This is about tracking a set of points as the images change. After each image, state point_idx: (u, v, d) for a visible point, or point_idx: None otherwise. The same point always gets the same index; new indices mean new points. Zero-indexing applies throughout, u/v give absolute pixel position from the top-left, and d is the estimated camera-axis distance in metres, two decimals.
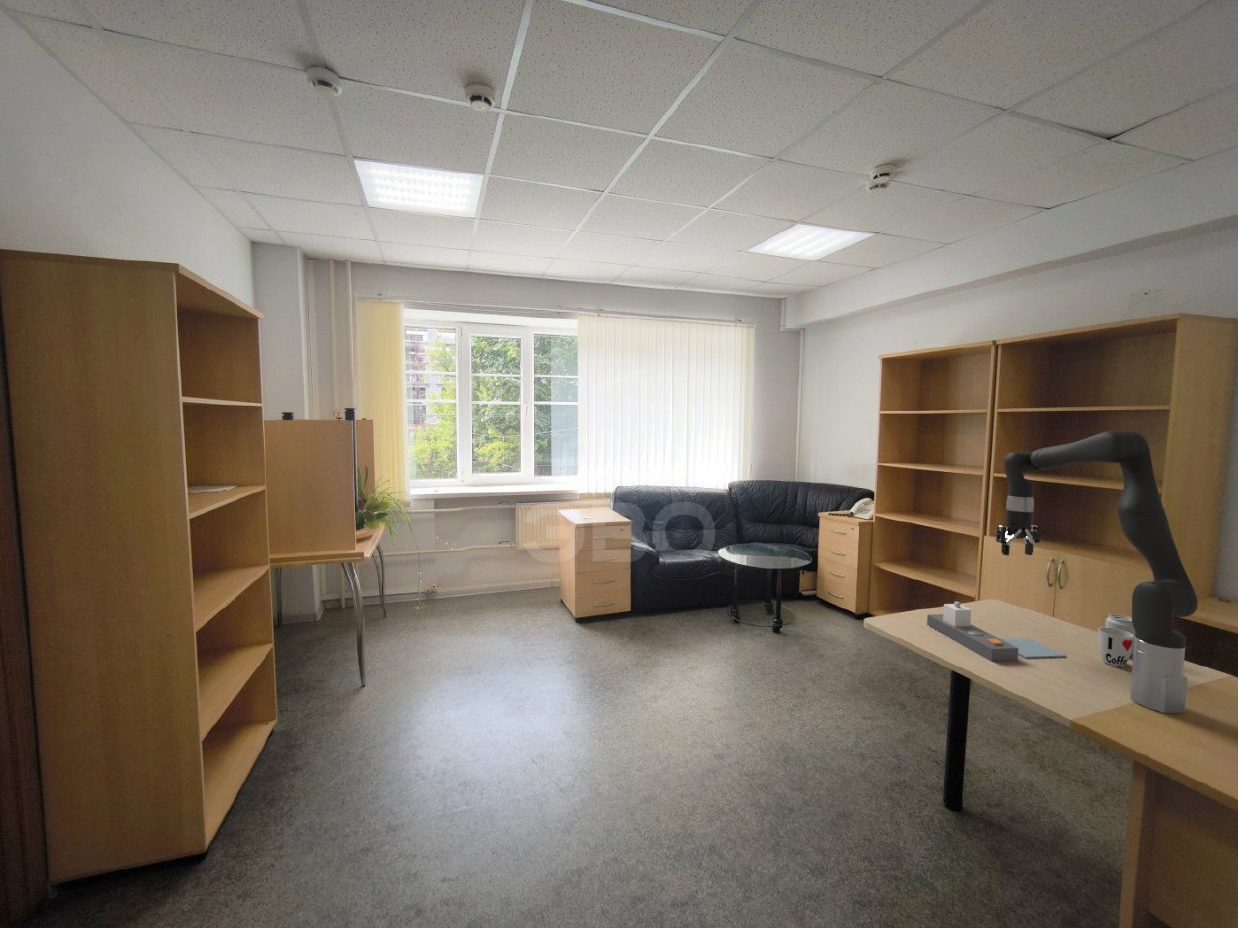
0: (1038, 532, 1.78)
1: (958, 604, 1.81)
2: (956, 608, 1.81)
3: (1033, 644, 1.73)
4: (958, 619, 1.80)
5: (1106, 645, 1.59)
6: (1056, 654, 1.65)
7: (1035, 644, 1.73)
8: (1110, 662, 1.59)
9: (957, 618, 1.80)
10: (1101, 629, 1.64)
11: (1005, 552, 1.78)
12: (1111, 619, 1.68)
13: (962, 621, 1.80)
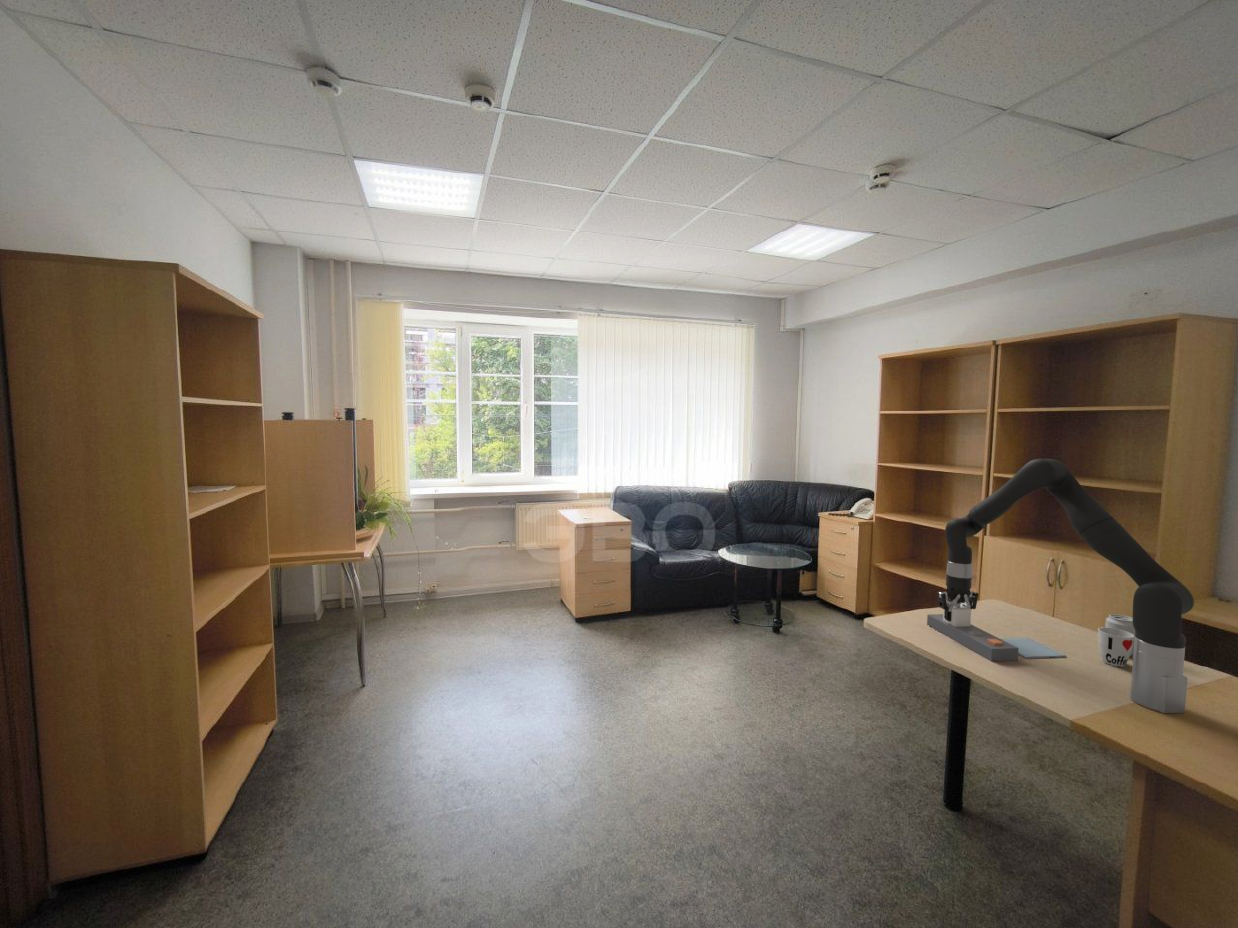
0: (976, 598, 1.81)
1: (958, 604, 1.81)
2: (956, 608, 1.81)
3: (1033, 644, 1.73)
4: (958, 619, 1.80)
5: (1106, 645, 1.59)
6: (1056, 654, 1.65)
7: (1035, 644, 1.73)
8: (1110, 662, 1.59)
9: (957, 618, 1.80)
10: (1101, 629, 1.64)
11: (947, 618, 1.82)
12: (1111, 619, 1.68)
13: (962, 621, 1.80)
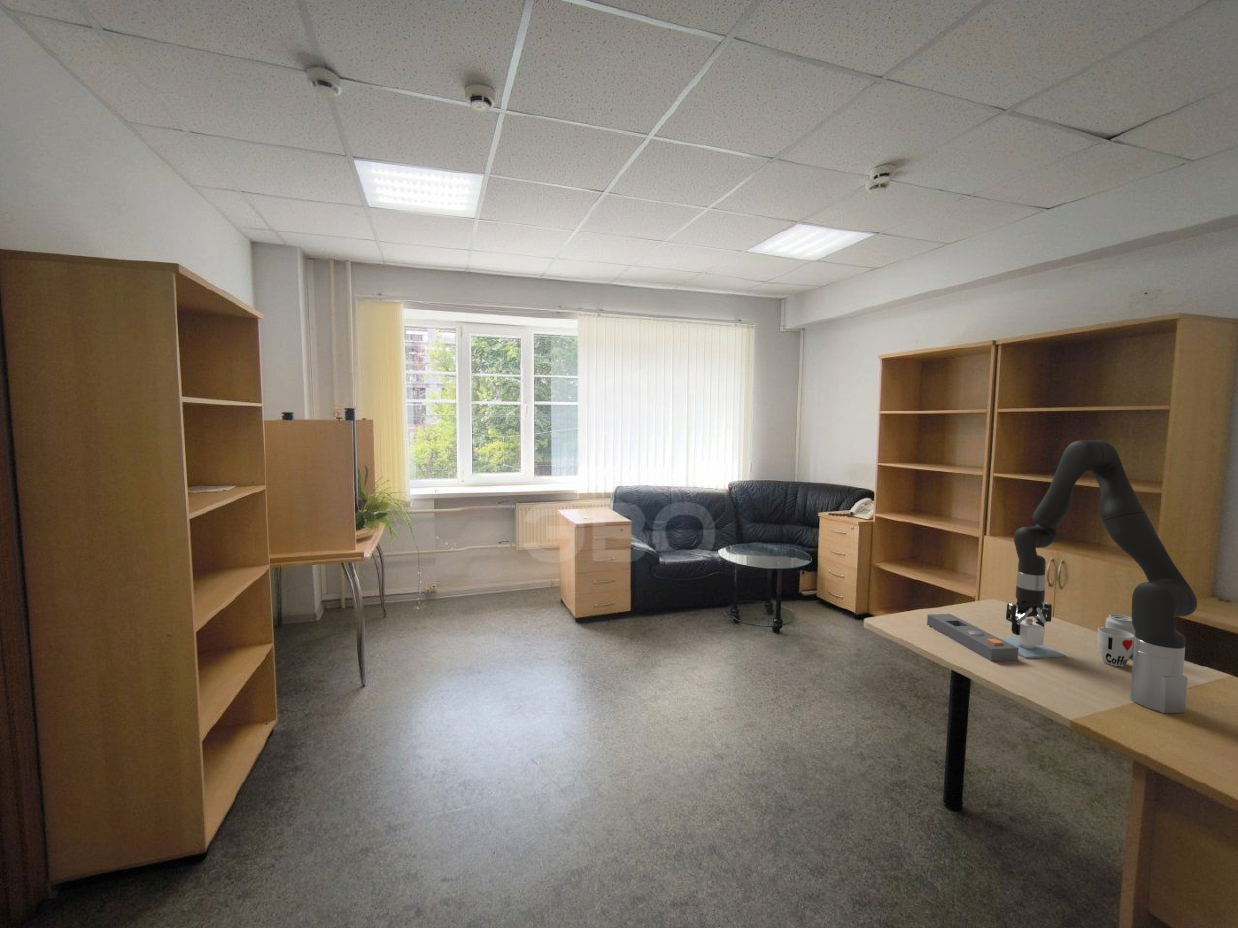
0: (1050, 610, 1.70)
1: (1030, 621, 1.69)
2: (1028, 625, 1.69)
3: None
4: (1030, 637, 1.68)
5: (1106, 645, 1.59)
6: (1056, 654, 1.65)
7: None
8: (1110, 662, 1.59)
9: (1029, 636, 1.68)
10: (1101, 629, 1.64)
11: (1015, 631, 1.70)
12: (1111, 619, 1.68)
13: (1034, 639, 1.68)
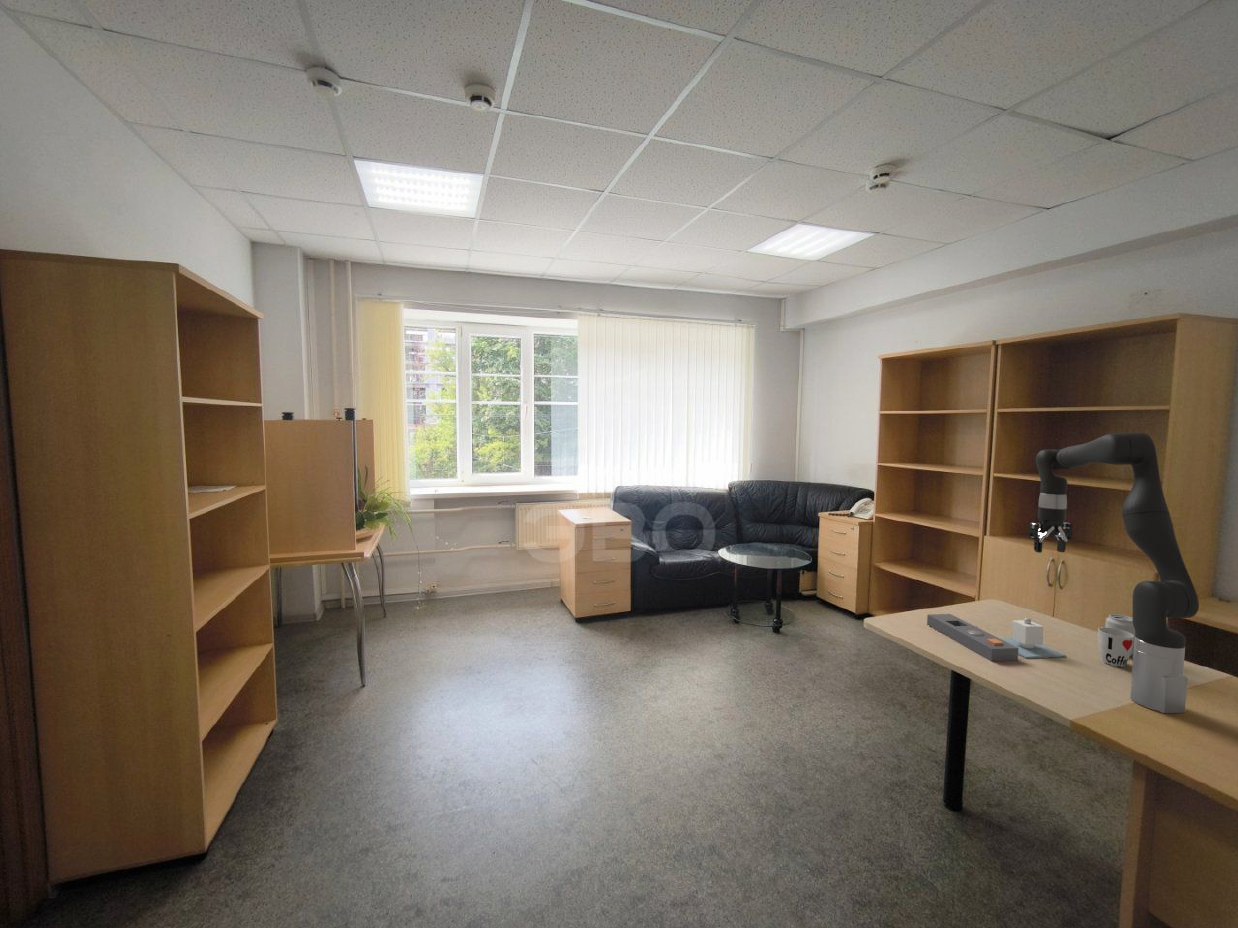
0: (1071, 529, 1.79)
1: (1028, 620, 1.70)
2: (1026, 624, 1.69)
3: None
4: (1029, 636, 1.68)
5: (1106, 645, 1.59)
6: (1056, 654, 1.65)
7: (1035, 644, 1.73)
8: (1110, 662, 1.59)
9: (1028, 635, 1.68)
10: (1101, 629, 1.64)
11: (1038, 549, 1.79)
12: (1111, 619, 1.68)
13: (1033, 638, 1.68)
